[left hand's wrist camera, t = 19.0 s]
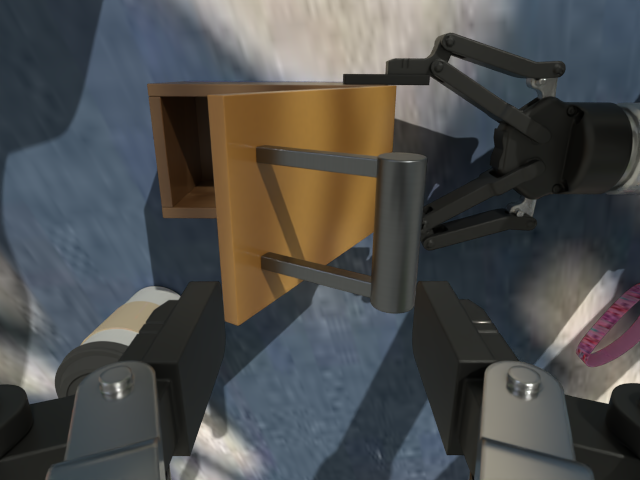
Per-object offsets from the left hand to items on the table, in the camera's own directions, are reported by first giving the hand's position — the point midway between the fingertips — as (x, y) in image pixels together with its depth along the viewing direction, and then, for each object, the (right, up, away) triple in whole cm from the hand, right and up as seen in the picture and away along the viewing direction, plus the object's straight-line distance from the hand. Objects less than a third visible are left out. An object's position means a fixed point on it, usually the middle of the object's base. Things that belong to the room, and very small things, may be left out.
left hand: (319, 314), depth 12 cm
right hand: (+2, +10, +26) cm, 28 cm away
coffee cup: (-18, -6, +39) cm, 44 cm away
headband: (+34, -7, +39) cm, 52 cm away
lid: (0, +6, +15) cm, 16 cm away
